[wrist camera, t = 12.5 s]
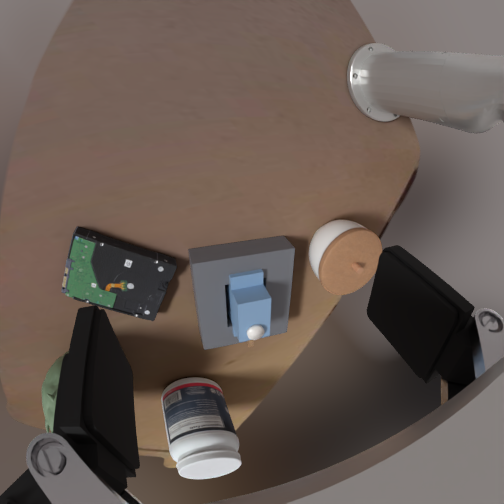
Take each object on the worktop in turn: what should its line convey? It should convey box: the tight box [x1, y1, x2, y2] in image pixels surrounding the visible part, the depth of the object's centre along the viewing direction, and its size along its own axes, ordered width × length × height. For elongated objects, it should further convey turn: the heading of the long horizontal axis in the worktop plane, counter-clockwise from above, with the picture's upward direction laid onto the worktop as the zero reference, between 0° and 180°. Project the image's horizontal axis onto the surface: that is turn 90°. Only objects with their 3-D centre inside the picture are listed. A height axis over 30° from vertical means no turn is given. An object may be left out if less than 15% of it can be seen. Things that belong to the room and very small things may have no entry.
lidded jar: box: [309, 219, 382, 295], centre depth 43 cm, size 11×11×9 cm
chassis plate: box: [188, 236, 295, 350], centre depth 44 cm, size 14×16×4 cm
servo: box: [225, 269, 271, 347], centre depth 43 cm, size 13×4×9 cm, turn 0°
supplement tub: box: [161, 377, 241, 479], centre depth 48 cm, size 13×13×18 cm
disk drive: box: [61, 227, 177, 321], centre depth 38 cm, size 10×3×15 cm
